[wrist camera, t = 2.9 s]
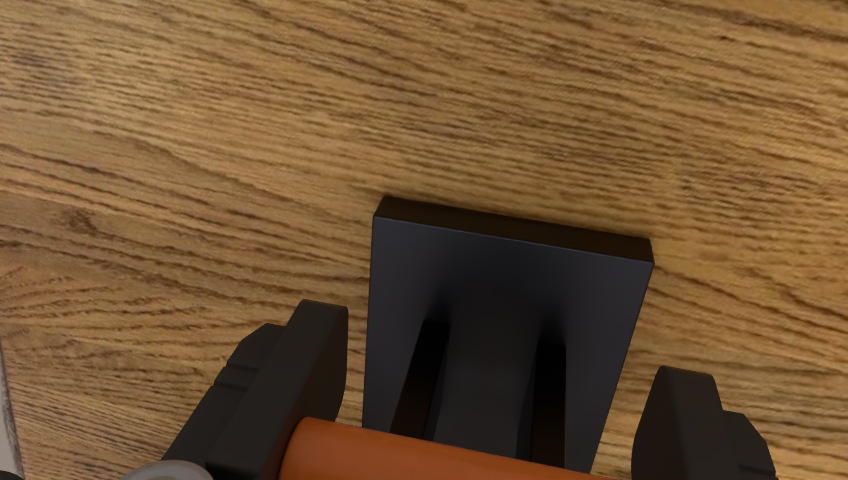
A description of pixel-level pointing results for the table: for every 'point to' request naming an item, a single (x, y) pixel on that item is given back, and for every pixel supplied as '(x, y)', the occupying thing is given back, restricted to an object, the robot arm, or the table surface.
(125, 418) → the table surface
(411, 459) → the switch
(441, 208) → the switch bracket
